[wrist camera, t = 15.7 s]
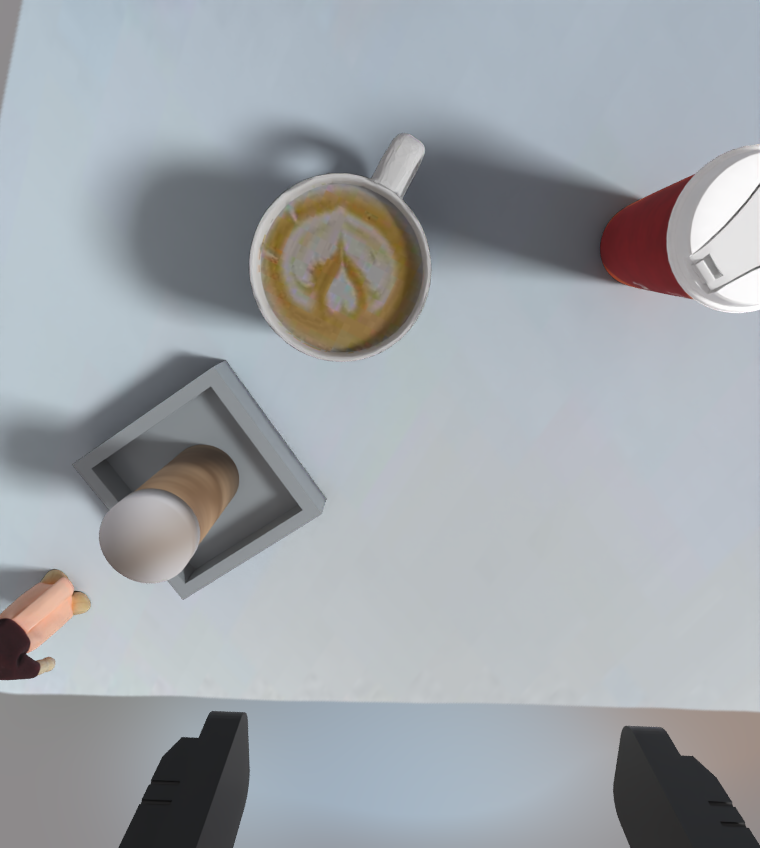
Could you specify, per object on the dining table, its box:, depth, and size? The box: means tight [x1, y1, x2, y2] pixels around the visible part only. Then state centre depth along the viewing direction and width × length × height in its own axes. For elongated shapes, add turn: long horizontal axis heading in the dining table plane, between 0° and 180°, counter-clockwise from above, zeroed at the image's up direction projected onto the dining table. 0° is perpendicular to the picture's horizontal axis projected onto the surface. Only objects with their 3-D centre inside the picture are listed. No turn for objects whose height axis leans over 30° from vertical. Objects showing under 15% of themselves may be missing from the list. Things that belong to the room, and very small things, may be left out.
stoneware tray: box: [72, 360, 326, 600], centre depth 44 cm, size 13×13×3 cm
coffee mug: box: [249, 133, 431, 362], centre depth 36 cm, size 13×10×10 cm
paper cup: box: [600, 144, 760, 313], centre depth 33 cm, size 8×8×14 cm
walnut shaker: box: [99, 445, 239, 583], centre depth 39 cm, size 5×5×11 cm
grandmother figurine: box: [0, 570, 91, 680], centre depth 42 cm, size 8×4×13 cm, turn 47°
